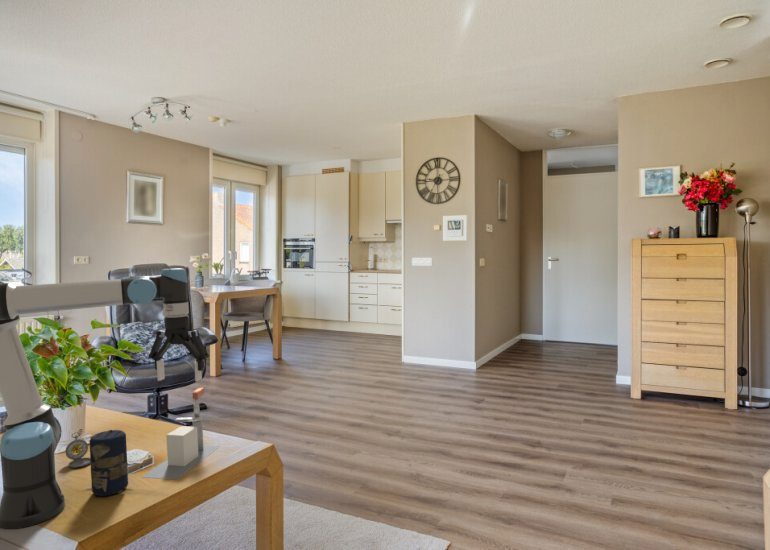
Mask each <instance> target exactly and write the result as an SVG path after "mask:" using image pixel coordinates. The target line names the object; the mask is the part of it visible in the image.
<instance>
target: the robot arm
mask: <svg viewBox="0 0 770 550" xmlns="http://www.w3.org/2000/svg"><path fill="white" fill-rule="evenodd" d="M187 277H188V276H187V271H186V269H185V268H182V267H181V268H180V267H179V268H178V267H177V268H163V269H161V273H160V274H157V275H136V276H135V275H131V276H125V277H121V278H119V279H118V278H116V279H105V280H104V279H103V280H87V281H72V282H59V283H45V284H44V283H43V284H42V283H41V284H31V285H28V284H27V285H17V286H16V285H14V284H12V282H4V281H2V280H0V397H1V400H2V402H3V405H4V407H5V411H6V413H7V417H6V418H5V420H4V421H3V425H4V428H5V430H6V431H5V432H3V434H2V435H1V437H0V462H1V474H2V475H1V476H2V477H1V478H2V479H1V480H2V490H3V491H2V495H1V499H0V528H2V529H22V528H25V527H30V526H35V525H36V524H40V523H43V522H45V521H47V520H49V519H52V518H54V517H55V516H57V515H59V514H60V513H61V512H62V511H63V510H64V509H65V507H66V506H65V505H66V503H65V501H66V500H65V496H64V494H63V493H62V490H61V487H60V485H59V484H58V481H57V480H56V479H57V478H56V477H57V476H56V464H55V461H56V460H55V451H56V449H57V447H58V444H59V442H60V441H61V437H62V432H63V431H62V425H61V423H60V421H59V419H57V417H56V416H55V414H54V413H53V410H52V406H51V405H49V404H46V403H44V402H43V400H42V397H41V394H40V391H39V388H38V386H37V382H36V379H35V378H34V374H33V371H32V368H31V366H30V363H29V361H28V357H27V354H26V352H25V348H24V346H23V344H22V343H23V342H22V340H21V338H20V334H19V332H18V328H17V325H18V323H19V322H20V321H21V319H20V318H21V317H20V315H27V314H28V315H29V314H37V313H46V312H47V313H48V312H49V313H50V312H58V311H69V310H81V309H90V308H91V309H92V308H102V307H112V306H124V305H145V304H149V303H150V302H151V303H152V302H153V300H154V299H155V300H156V299H157V300H158V299H162V300H163V301H162V303H163V304H162V305H163V315H164V316H165V317H164V318H163V321H164V322H163V323H164V329H165V330H164V329H159V330H157V331H156V332H155V339H154V342H153V344H152V347H151V349H150V351H149V354H148V359H151V360H153V361H154V368H155V371H156V373H157V374H156V376H157V382H160V381H163V380H165V378H166V377H165V375H166V374H165V360H164V359H163V357H164V355H165V354H166V352H167V351H168V350H169V349H170V347H171V346H172V345H178V346H179V345H182V346H184V347H185V348H186V349H187V351H189V353H190V354H191V355H192V357H194V359H195V361H194V381H195V382H200V381H202V380H203V372H202V371H203V370H204V369H205V368H204V361H205V359H207V358H210V356H209V353H208V350H207V349H206V347H205V344H204V343H203V341H202V340H201V337H200V333H199V330H198V329H195V330H190V316H189V315H188V314H190V313H189V311H190V309H189V290H188V289H189V288H188V278H187ZM164 338H166V339H165V340H164ZM163 340H164V342H163ZM162 343H163V345H162ZM161 345H162V346H161Z"/></svg>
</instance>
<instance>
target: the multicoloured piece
mask: <svg viewBox="0 0 770 550" xmlns="http://www.w3.org/2000/svg"><path fill="white" fill-rule="evenodd" d="M191 395H192V400H193V401H192V402H193V416H192V417H191V416H190V417H177V418H175V419H174V420H175V421H174V422H175V423H183V422H184V423H185V422H186V423H187V422H189V423H191V422H192V421H193V422H199V421H201V420H202V421H203V415H200V414H201V413H200V398H201V397H202V396H203V395H205V387H198V388H197V389H195V390H194V391H192V394H191Z"/></svg>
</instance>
